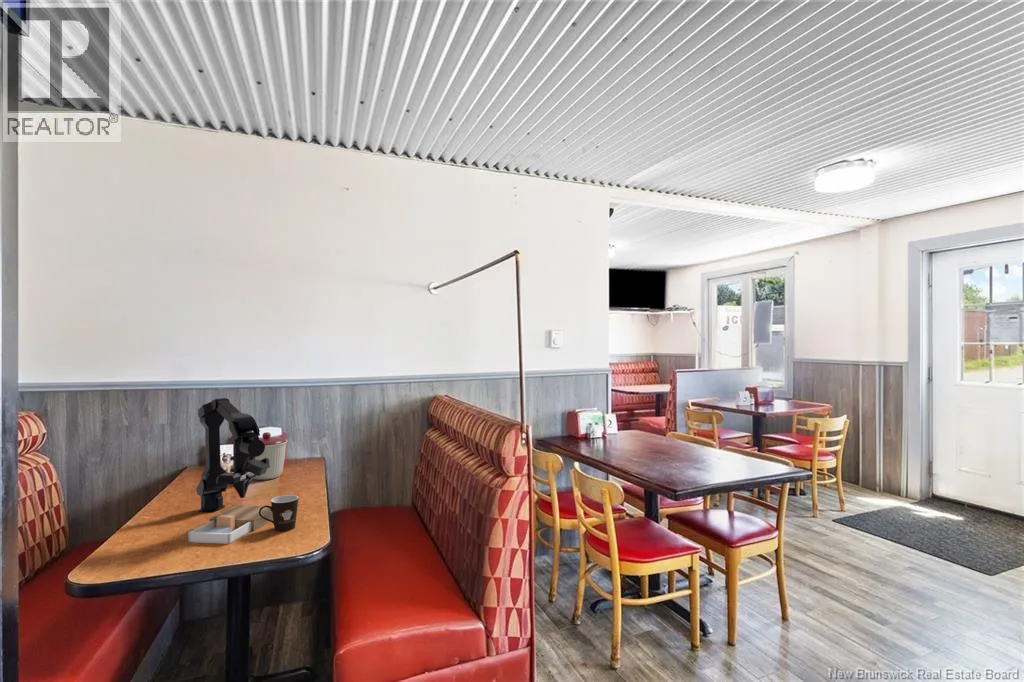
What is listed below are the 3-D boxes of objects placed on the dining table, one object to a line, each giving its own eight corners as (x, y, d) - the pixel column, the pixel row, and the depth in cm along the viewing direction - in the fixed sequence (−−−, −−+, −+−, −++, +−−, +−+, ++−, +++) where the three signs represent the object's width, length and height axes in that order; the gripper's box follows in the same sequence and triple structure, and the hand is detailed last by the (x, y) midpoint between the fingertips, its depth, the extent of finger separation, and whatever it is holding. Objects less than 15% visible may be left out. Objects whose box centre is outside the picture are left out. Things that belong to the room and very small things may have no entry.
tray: (188, 542, 160) (188, 532, 160) (212, 529, 171) (212, 520, 171) (229, 543, 158) (229, 534, 158) (251, 530, 169) (251, 521, 169)
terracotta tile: (221, 529, 169) (216, 531, 167) (221, 514, 169) (216, 516, 167) (234, 530, 169) (230, 532, 167) (234, 515, 169) (230, 517, 167)
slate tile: (216, 526, 166) (216, 532, 166) (205, 532, 161) (205, 538, 161) (230, 527, 166) (230, 533, 166) (219, 533, 161) (219, 539, 161)
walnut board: (209, 529, 171) (209, 518, 171) (236, 515, 185) (236, 505, 185) (254, 530, 169) (254, 520, 169) (277, 516, 183) (277, 506, 183)
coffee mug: (301, 523, 177) (301, 494, 177) (295, 532, 168) (295, 502, 168) (265, 525, 175) (265, 496, 175) (257, 534, 166) (257, 504, 166)
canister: (236, 482, 228) (236, 435, 228) (258, 472, 246) (258, 428, 246) (275, 482, 227) (275, 436, 227) (294, 472, 245) (294, 429, 245)
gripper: (247, 459, 165) (247, 507, 165) (279, 447, 184) (279, 490, 184) (215, 458, 167) (215, 506, 167) (251, 447, 185) (251, 489, 185)
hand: (242, 497), depth 176 cm, fingers closed
